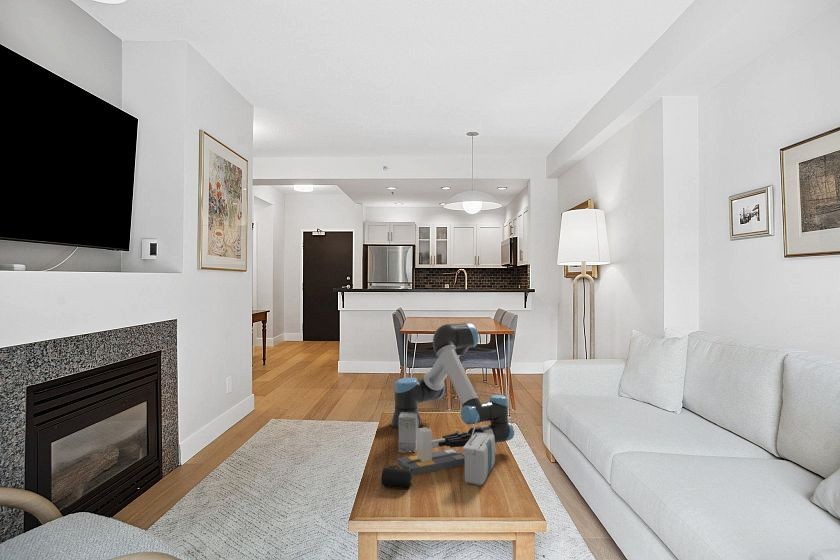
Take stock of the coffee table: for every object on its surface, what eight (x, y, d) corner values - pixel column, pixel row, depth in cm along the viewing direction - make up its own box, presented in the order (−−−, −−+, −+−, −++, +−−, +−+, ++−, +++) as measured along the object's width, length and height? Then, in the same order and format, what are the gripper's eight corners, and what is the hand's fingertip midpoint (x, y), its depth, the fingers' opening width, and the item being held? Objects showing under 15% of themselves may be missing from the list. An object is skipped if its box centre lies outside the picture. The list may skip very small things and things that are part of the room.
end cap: (381, 490, 170) (381, 470, 170) (386, 481, 177) (386, 463, 177) (408, 492, 168) (408, 473, 168) (413, 484, 175) (413, 465, 175)
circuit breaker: (419, 441, 221) (419, 409, 221) (415, 452, 207) (415, 417, 207) (402, 441, 221) (402, 408, 222) (398, 452, 207) (398, 417, 207)
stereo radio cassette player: (484, 487, 172) (483, 431, 172) (461, 484, 174) (461, 429, 174) (495, 466, 191) (495, 416, 191) (475, 464, 194) (475, 414, 194)
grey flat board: (397, 464, 193) (397, 458, 193) (453, 454, 204) (453, 448, 204) (409, 475, 182) (409, 468, 182) (468, 464, 194) (468, 457, 194)
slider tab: (417, 458, 193) (417, 428, 193) (426, 456, 195) (426, 427, 195) (422, 462, 189) (422, 432, 189) (431, 460, 190) (431, 430, 190)
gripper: (489, 449, 197) (438, 459, 186) (471, 440, 208) (423, 448, 198) (488, 431, 197) (438, 439, 186) (471, 423, 208) (422, 430, 198)
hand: (430, 444), depth 192 cm, fingers closed
